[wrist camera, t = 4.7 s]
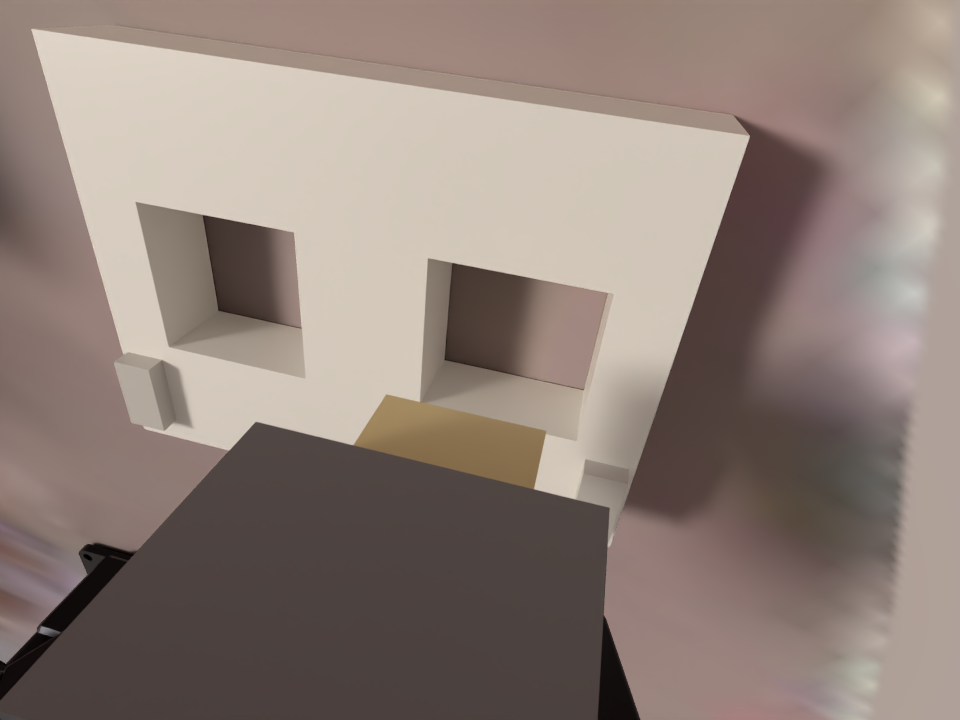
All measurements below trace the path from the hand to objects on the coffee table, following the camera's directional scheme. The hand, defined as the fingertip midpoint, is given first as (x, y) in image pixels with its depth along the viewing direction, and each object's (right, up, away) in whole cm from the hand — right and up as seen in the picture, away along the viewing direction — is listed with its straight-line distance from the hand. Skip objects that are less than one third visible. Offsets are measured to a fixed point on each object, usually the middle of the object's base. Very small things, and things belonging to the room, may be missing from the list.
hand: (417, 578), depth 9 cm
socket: (-2, +6, +8) cm, 10 cm away
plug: (+1, +1, +2) cm, 2 cm away
